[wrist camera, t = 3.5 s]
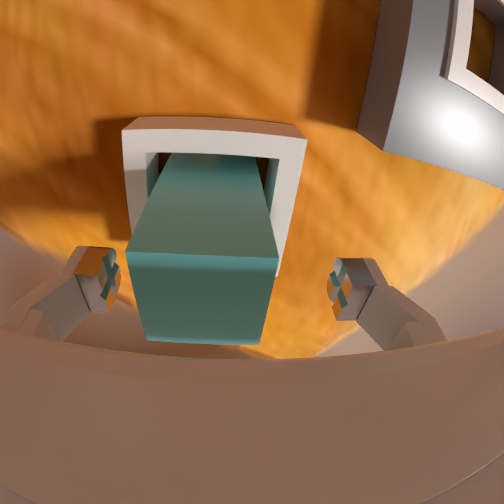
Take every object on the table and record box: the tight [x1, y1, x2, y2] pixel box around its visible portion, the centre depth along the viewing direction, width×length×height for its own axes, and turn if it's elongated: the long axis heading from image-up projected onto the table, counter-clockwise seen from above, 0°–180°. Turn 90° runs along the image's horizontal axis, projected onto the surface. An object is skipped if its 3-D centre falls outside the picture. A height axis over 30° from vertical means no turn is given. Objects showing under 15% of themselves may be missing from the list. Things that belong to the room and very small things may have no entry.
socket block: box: [356, 0, 504, 190], centre depth 8 cm, size 12×16×3 cm
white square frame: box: [122, 116, 308, 277], centre depth 14 cm, size 8×8×2 cm
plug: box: [125, 152, 279, 345], centre depth 12 cm, size 4×4×8 cm
